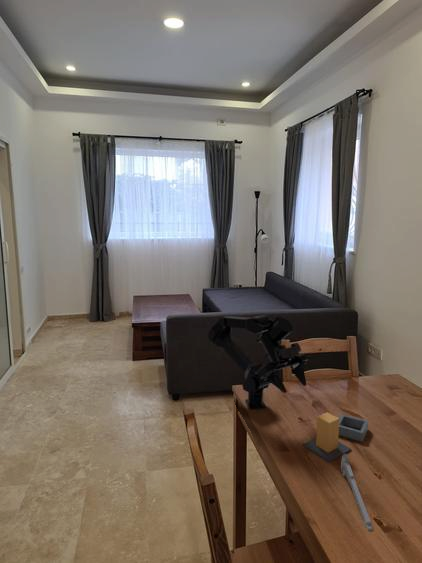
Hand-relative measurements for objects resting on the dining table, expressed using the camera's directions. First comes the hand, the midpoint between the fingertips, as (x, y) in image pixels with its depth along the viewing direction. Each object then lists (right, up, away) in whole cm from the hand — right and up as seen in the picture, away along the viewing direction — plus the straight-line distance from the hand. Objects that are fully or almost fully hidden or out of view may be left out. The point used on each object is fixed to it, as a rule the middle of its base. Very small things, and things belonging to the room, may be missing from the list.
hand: (295, 388), depth 124 cm
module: (+7, -15, -9) cm, 19 cm away
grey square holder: (+18, -14, -1) cm, 23 cm away
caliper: (+8, -19, -30) cm, 36 cm away
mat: (+7, -15, -9) cm, 19 cm away
